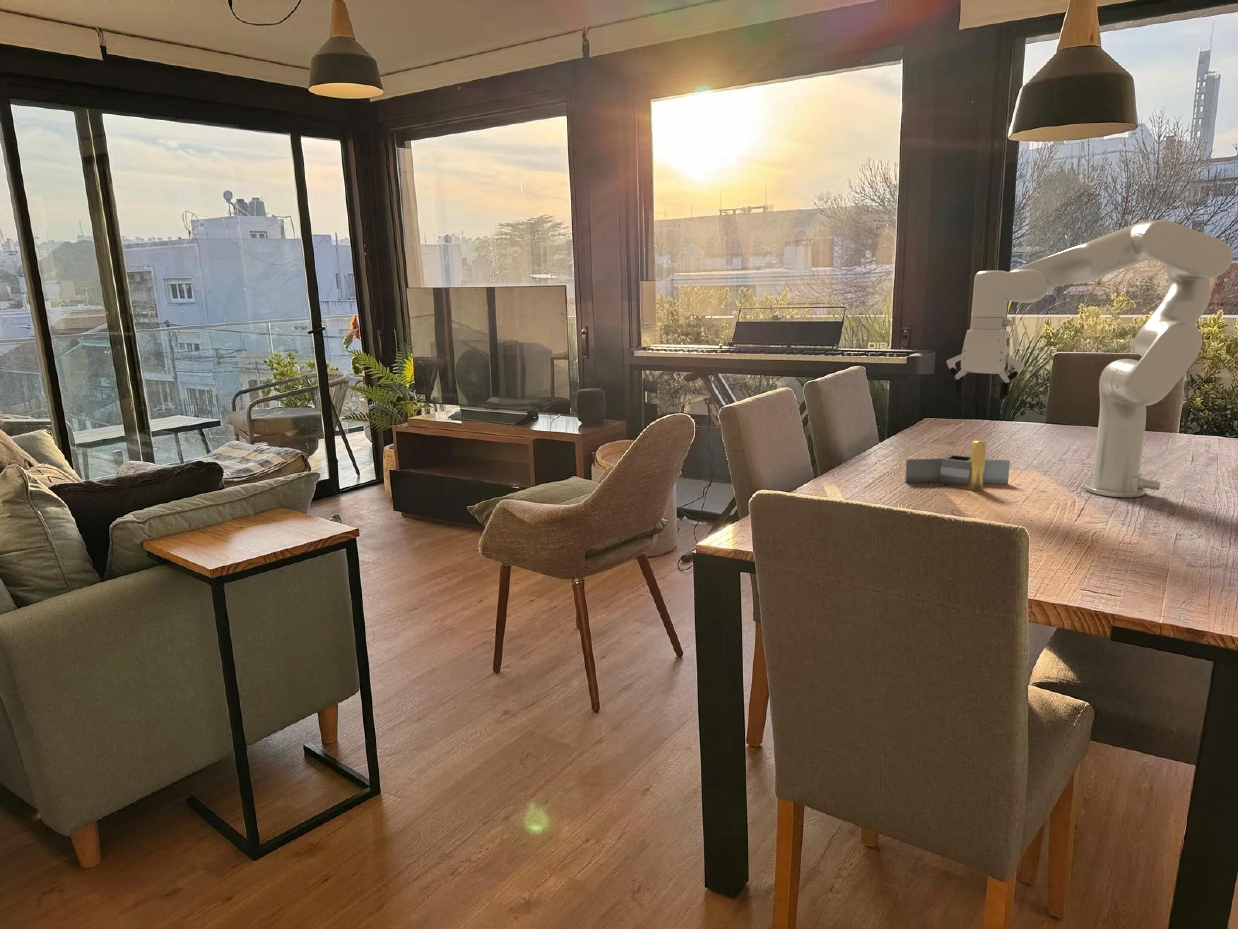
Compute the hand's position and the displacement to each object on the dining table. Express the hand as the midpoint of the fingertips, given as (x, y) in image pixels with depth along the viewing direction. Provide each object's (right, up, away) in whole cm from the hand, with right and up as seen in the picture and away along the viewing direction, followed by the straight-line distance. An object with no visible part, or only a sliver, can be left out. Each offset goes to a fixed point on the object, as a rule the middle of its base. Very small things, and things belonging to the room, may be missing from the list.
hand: (981, 397), depth 200 cm
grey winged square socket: (-2, -21, +11) cm, 24 cm away
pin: (+1, -22, +5) cm, 23 cm away
